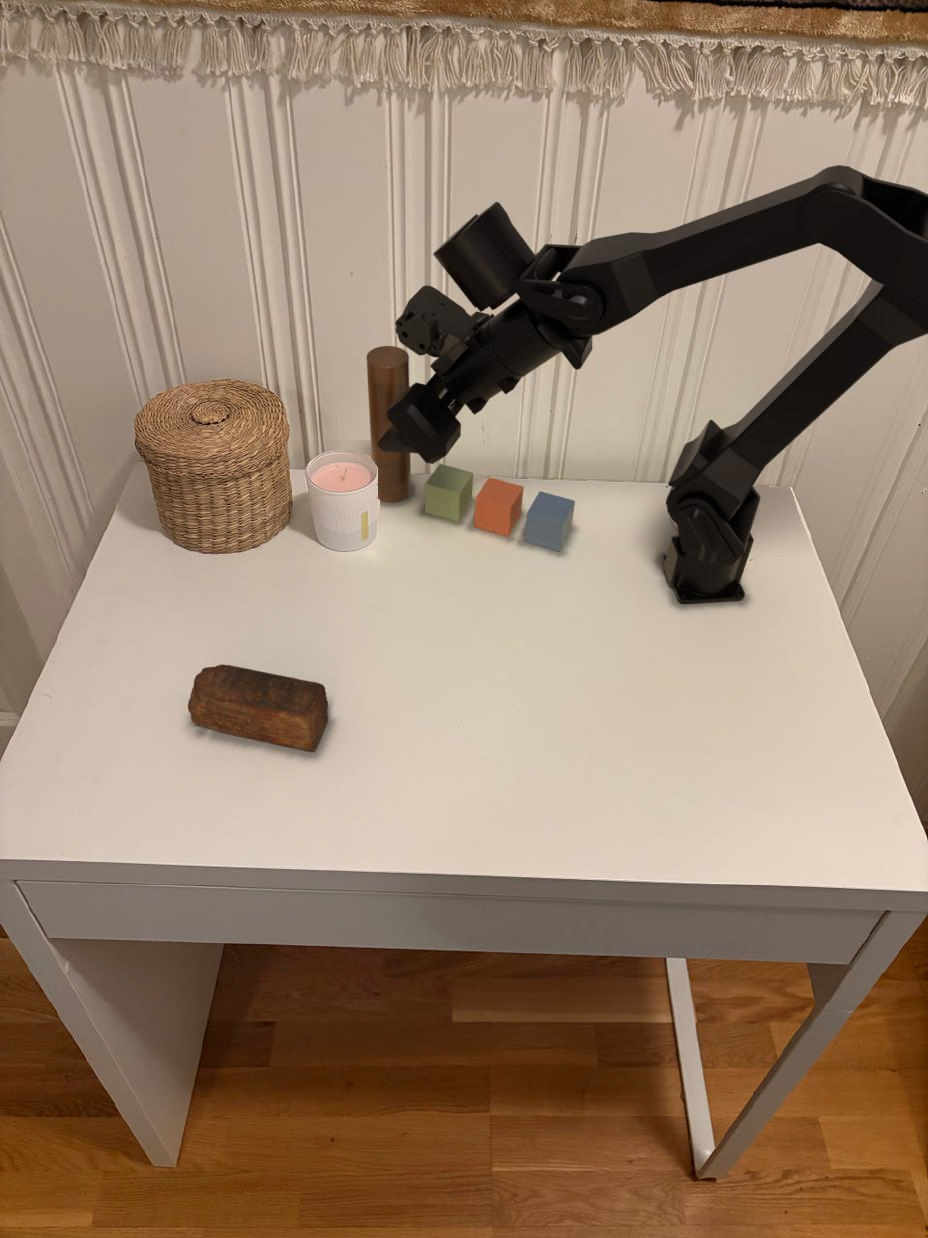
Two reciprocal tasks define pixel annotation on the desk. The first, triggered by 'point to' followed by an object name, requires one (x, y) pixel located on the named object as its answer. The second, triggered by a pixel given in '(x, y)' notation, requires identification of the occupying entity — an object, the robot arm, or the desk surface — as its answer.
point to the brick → (259, 706)
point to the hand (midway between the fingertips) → (400, 422)
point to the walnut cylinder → (383, 390)
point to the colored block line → (499, 506)
